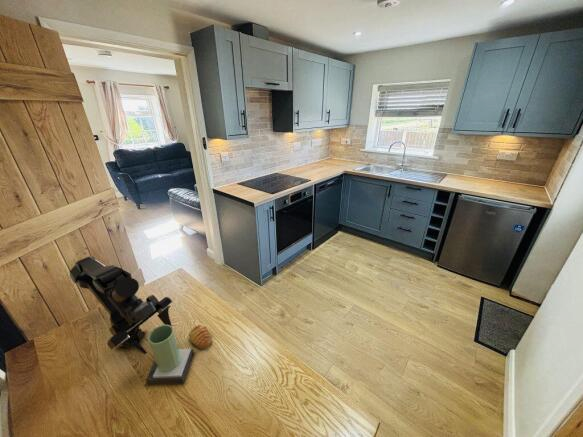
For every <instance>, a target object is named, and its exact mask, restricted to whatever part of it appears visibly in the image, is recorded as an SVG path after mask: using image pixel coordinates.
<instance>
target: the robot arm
mask: <svg viewBox="0 0 583 437" xmlns="http://www.w3.org/2000/svg"><path fill="white" fill-rule="evenodd" d="M69 278H70V279H71V281H72V283H74V284H77V285H78V286H79V287H80V288H82V289H87V290H89V291H90V292H91V293H92V294H93V296H94V297H95V298H96V300H97V301H98V302H99V303H100V304H101V306H102V307H103V308H104V310H106V312H107V313H108V315H109V322H110V327H109V328H108V331H109V332H110V334H111V335H112V336H111V337H110V338H109V339H107V341H106V342H107V343H106V344H107V346H108V347H109V349H110V350H111V351H113V349H115V348H116V347H117V349H118V350H119V349H131V350H133V351H135V352H138V353H140V354H143V355H147V354H148V352H147V350H146V349H145V348H144V347H143V346H141V345H140V343H141V341H142V340H143V338H144V336H145V334H146V331H143V330H142V328H140V326H142V325H143V324H144V323H146V322H147V321H148V320H149V319H150V318H152V317H153V316H155V314H157V317H158V318H159V320H160V321H161V322H162V323H163V325H170V326H172V327H173V324H172V321H171V319H170V313H169V310H170V307H171V304H172V303H173V300H172V299H171V298H170V297H169V296H165V297H163V298H162V299H161V300H160V301H159V299H158V298H157V297H156V295H154V294H150V295H149V296H148V297H146V298H145V301H143V299H141V298H138V297H137V295H136V294H137V292H138V291H139V289H140V283H139V281H138V280H137V279H135V278H133V277H132V274H131V273H130V272H128V271H127V270H125V269H123V268H122V267H119V266H118V265H114V264H110V265H106V264H104V263H102V262H100V261H98V260H97V259H96V258H95V257H94V256H93V255H91V256H90V255H89V256H86V257H84V258H81V259H79V260H77V261H76V262H75V263H74V266H73V267H72V268H71V269H70V270H69Z"/></svg>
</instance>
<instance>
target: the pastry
mask: <svg viewBox="0 0 583 437" xmlns="http://www.w3.org/2000/svg"><path fill="white" fill-rule="evenodd" d="M188 338H189V341H190V342H191V343H192V345H194V347H197V348H198V349H201V350H205V349H207V348H208V347H209V346H210V345H211V342H212V339H211V338H212V335H211V332H210V331H209V329H208V327H207V326H205V325H203V324H196V325H195V326H194V327H193V328H192V329H191V330H190V331H189V333H188Z"/></svg>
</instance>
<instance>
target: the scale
mask: <svg viewBox="0 0 583 437" xmlns="http://www.w3.org/2000/svg"><path fill="white" fill-rule="evenodd" d="M179 351H180V354H181V361H180V363H179V365H178V366H177V367H176V368H175V369H173V370H172V371H169V372H161V371H160V370H159V369H158V367H157V364H156V361H155V360H154V362H153V364H152V366H151V368H150V371H149V372H148V375H147V376H146V378H145V382H146V384H147V386H153V385H154V386H155V385H181V384H184V383H185V380H186V377H187V374H188V372H189V369H190V366H191V365H192V364H191V363H192V360H193V358H194V356H195V351H194V349H193V348H179Z"/></svg>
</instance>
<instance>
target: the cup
mask: <svg viewBox="0 0 583 437" xmlns="http://www.w3.org/2000/svg"><path fill="white" fill-rule="evenodd" d="M177 340H178V339H177V337H176V333H175V330H174V327H173V325H172V326H170V325H165V324H161V325H159V326H157V327H154V328H153V329H152V330H151V331H150V332H149V334H148V336H147V341H148V344H149V347H150V350H151V352H152V355H153V359H154V362H155V361H156V364H157V367H158V369H159V370H160V371H161V372H169V371H172V370H173V369H175V368H176V367H177V366H178V365H179V363H180V361H181V354H180V351H179V349H180V347H179V344H178V341H177Z"/></svg>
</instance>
